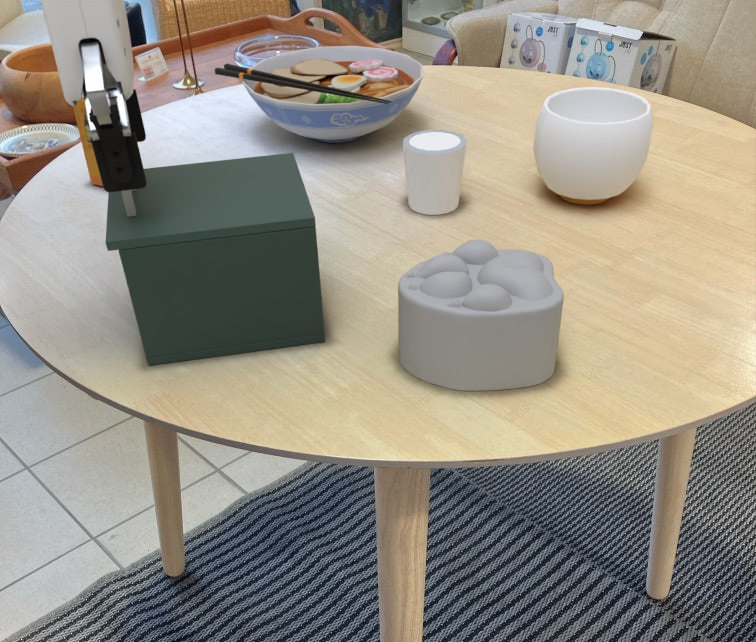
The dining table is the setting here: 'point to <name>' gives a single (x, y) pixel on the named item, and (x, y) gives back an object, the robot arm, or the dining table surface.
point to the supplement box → (87, 141)
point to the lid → (209, 202)
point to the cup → (592, 142)
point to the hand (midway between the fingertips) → (126, 164)
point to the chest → (226, 294)
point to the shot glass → (434, 170)
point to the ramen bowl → (331, 89)
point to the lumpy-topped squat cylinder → (480, 318)
